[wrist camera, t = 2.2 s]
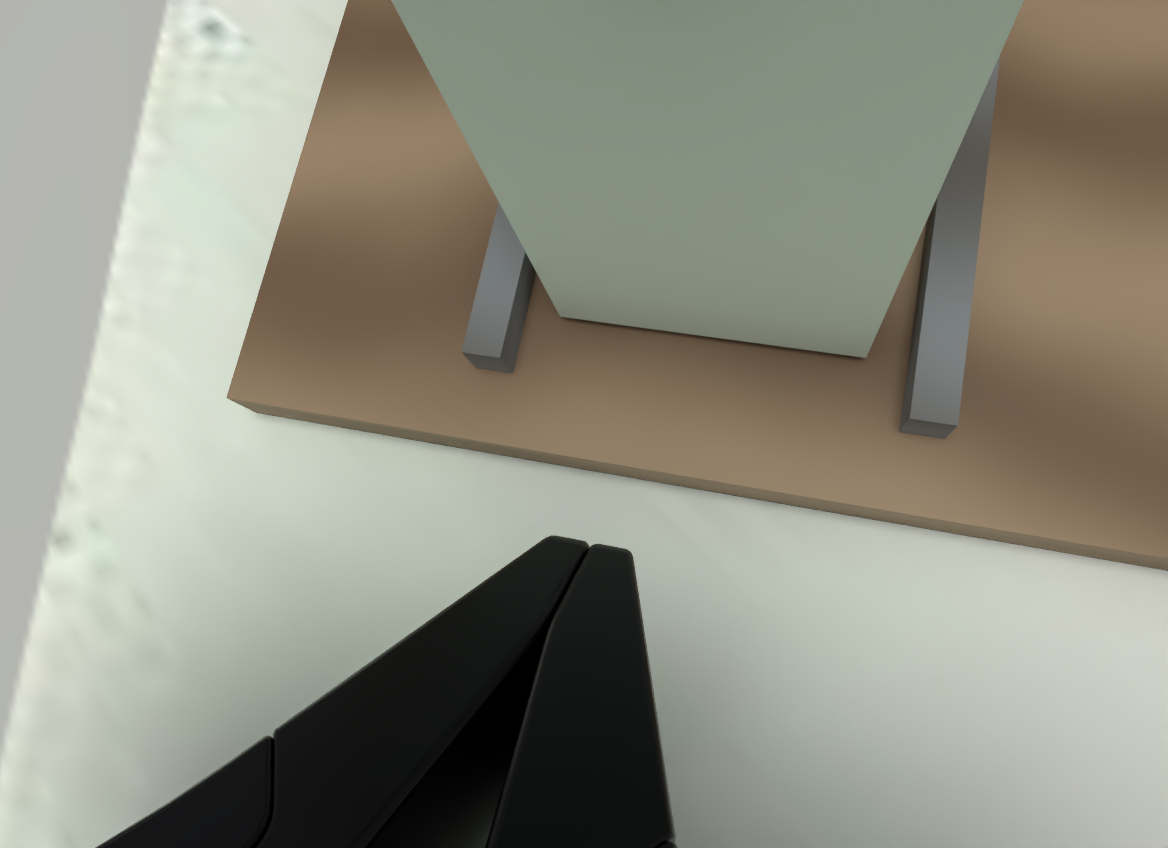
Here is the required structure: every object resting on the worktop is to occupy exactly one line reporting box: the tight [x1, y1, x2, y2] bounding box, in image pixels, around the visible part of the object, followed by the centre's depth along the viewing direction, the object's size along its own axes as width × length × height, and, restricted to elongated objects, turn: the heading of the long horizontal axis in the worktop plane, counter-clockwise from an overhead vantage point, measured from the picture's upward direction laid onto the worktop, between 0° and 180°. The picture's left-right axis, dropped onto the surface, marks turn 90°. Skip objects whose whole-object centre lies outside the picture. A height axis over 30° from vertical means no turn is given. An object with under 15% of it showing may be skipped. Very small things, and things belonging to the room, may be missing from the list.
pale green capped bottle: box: [391, 0, 1024, 358], centre depth 11 cm, size 4×6×13 cm
